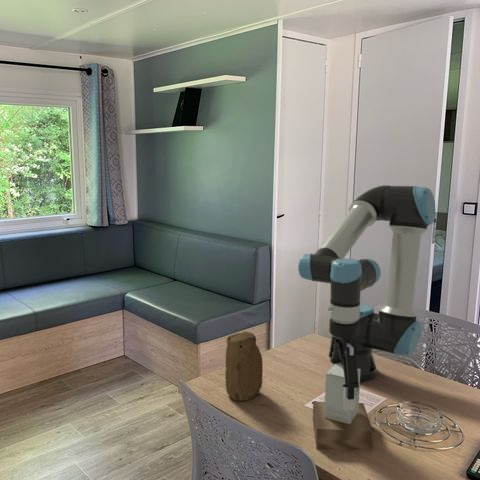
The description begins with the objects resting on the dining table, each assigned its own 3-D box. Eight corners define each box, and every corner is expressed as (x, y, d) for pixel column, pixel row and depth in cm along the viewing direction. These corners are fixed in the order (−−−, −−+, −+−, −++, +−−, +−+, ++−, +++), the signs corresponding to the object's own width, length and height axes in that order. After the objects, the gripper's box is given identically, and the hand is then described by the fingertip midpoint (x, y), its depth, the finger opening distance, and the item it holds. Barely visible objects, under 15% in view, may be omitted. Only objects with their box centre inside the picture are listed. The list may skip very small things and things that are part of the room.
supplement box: (350, 425, 125) (352, 379, 123) (323, 417, 129) (324, 372, 127) (359, 412, 132) (361, 368, 129) (333, 405, 135) (334, 362, 133)
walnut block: (362, 422, 138) (363, 403, 137) (371, 452, 124) (372, 431, 123) (312, 420, 139) (313, 401, 138) (316, 450, 125) (316, 428, 124)
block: (235, 404, 147) (235, 341, 144) (223, 394, 154) (222, 334, 150) (265, 395, 153) (265, 334, 149) (252, 385, 159) (252, 327, 155)
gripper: (319, 305, 137) (317, 377, 141) (343, 336, 113) (340, 422, 117) (345, 304, 138) (342, 376, 141) (374, 335, 114) (371, 420, 118)
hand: (341, 397), depth 129 cm, fingers open, 12 cm apart
